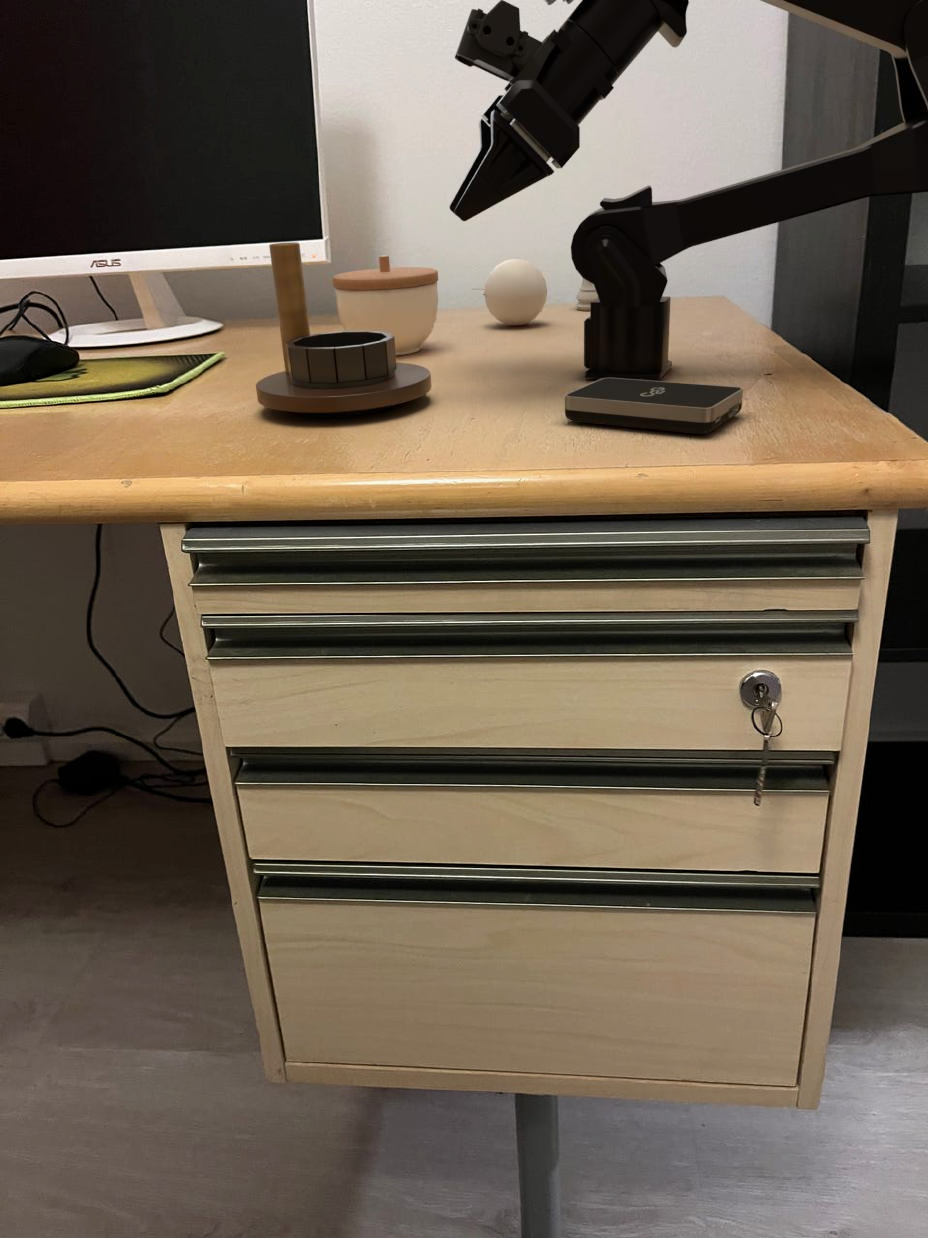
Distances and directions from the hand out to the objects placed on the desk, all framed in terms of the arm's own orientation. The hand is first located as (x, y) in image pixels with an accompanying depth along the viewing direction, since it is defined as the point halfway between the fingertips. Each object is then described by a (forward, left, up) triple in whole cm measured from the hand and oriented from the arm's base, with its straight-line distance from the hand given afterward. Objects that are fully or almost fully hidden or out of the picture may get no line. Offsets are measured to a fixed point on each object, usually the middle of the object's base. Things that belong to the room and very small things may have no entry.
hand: (455, 214), depth 77 cm
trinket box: (+14, -15, -14) cm, 24 cm away
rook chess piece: (0, -46, -14) cm, 48 cm away
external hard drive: (-18, +10, -14) cm, 25 cm away
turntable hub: (+7, +9, -14) cm, 18 cm away
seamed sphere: (+7, -33, -14) cm, 36 cm away
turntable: (+7, +9, -13) cm, 17 cm away
